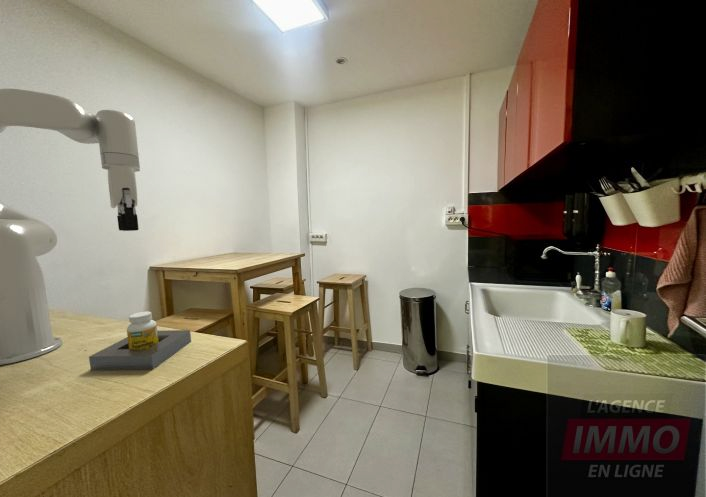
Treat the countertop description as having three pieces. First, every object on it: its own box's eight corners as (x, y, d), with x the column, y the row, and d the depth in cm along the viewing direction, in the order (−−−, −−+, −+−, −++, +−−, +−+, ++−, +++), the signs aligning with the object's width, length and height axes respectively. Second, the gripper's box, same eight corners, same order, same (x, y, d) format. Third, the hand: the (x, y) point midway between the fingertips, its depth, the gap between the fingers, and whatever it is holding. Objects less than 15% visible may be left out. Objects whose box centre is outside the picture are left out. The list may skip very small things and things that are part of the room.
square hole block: (90, 370, 56) (88, 356, 56) (140, 342, 69) (139, 331, 69) (152, 369, 56) (151, 355, 56) (191, 341, 69) (190, 330, 69)
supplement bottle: (159, 347, 66) (155, 308, 65) (159, 355, 62) (154, 314, 61) (131, 353, 64) (127, 313, 63) (128, 363, 59) (123, 320, 58)
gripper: (100, 167, 74) (107, 230, 76) (102, 155, 61) (111, 231, 63) (135, 170, 79) (141, 229, 81) (144, 159, 67) (151, 230, 68)
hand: (128, 230), depth 72 cm, fingers open, 9 cm apart
